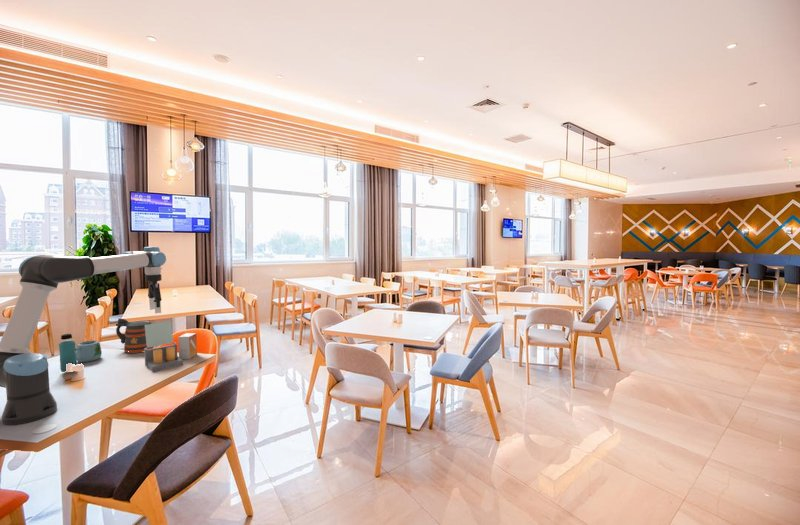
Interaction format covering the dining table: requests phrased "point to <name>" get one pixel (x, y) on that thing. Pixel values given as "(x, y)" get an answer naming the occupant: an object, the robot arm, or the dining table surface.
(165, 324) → the lid
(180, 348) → the small box
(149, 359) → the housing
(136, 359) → the dining table surface
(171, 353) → the peg
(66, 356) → the beverage bottle
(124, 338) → the beer stein
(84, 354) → the mug
